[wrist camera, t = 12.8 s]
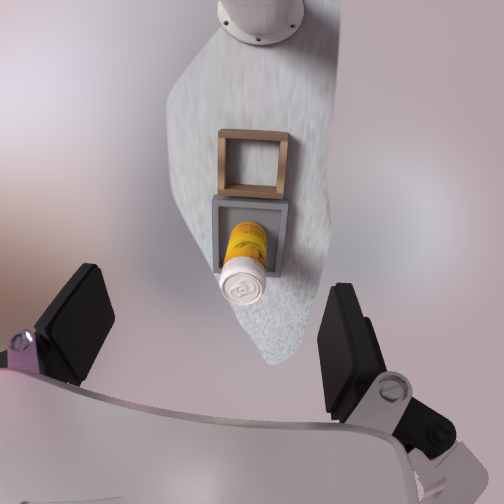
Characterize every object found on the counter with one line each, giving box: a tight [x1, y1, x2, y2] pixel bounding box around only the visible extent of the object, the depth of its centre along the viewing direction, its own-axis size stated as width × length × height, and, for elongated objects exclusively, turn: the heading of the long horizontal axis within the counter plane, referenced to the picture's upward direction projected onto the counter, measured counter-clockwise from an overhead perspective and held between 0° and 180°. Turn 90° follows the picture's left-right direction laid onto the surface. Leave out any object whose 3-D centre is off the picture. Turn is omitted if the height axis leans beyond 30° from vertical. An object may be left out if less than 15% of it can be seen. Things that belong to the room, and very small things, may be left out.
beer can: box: [220, 222, 266, 305], centre depth 43 cm, size 6×6×15 cm
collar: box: [218, 129, 288, 199], centre depth 42 cm, size 10×10×3 cm
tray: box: [212, 195, 288, 278], centre depth 49 cm, size 14×12×2 cm
